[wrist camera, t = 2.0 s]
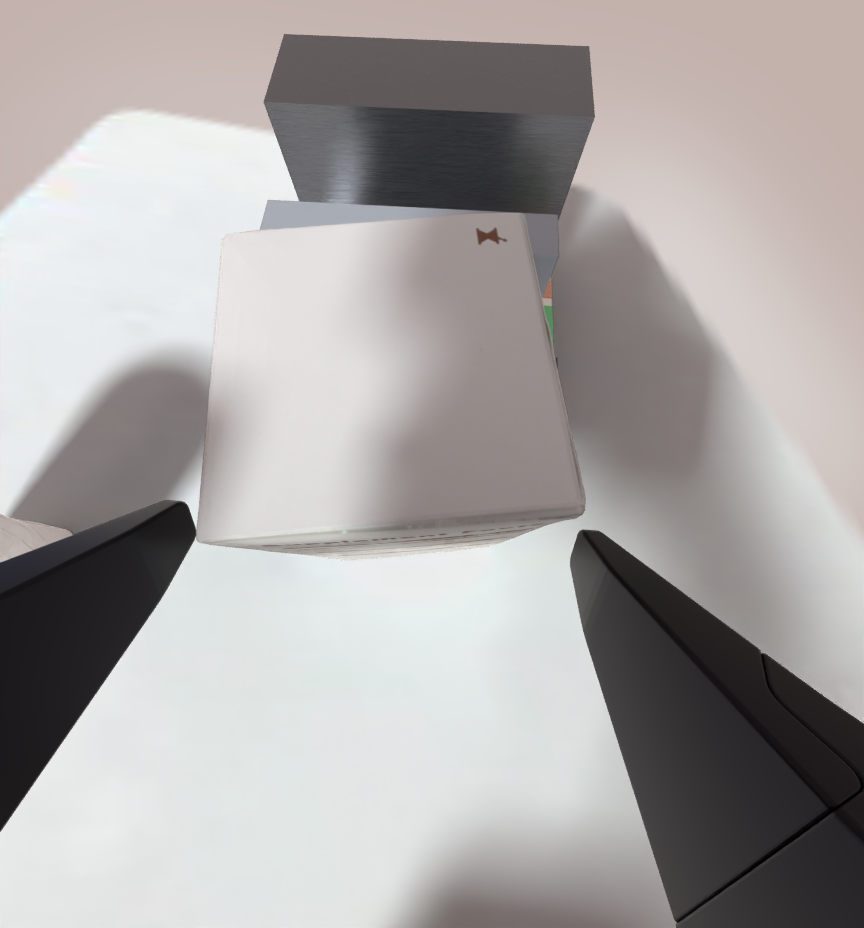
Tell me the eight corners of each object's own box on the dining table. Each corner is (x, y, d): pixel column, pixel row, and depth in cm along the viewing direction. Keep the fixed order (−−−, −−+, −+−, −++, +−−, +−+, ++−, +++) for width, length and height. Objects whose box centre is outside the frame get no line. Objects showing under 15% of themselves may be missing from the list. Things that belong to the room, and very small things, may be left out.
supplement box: (344, 428, 20) (215, 218, 8) (475, 418, 21) (536, 198, 8) (345, 564, 18) (176, 548, 6) (492, 552, 19) (604, 513, 6)
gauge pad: (535, 413, 20) (632, 260, 10) (342, 401, 20) (257, 240, 10) (534, 388, 20) (627, 218, 10) (346, 376, 20) (267, 199, 11)
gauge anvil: (530, 421, 20) (615, 289, 11) (315, 407, 21) (214, 266, 11) (529, 258, 24) (594, 46, 14) (343, 248, 24) (284, 33, 14)
